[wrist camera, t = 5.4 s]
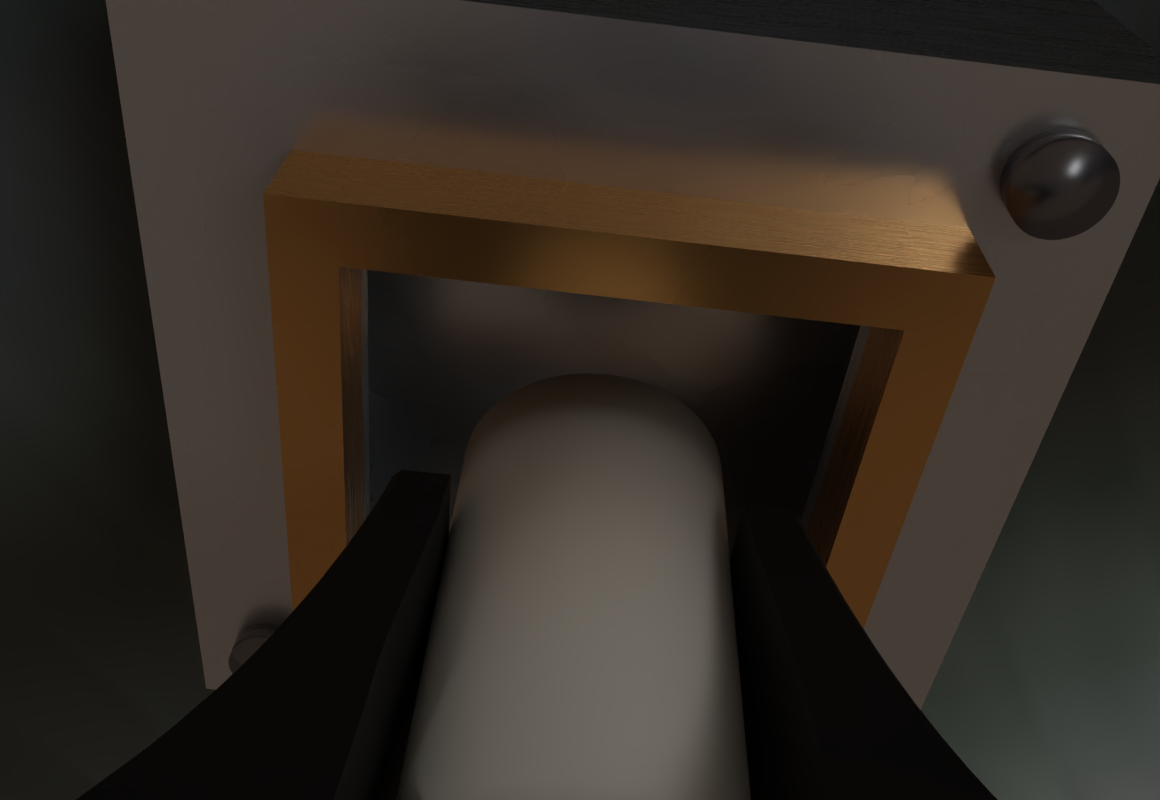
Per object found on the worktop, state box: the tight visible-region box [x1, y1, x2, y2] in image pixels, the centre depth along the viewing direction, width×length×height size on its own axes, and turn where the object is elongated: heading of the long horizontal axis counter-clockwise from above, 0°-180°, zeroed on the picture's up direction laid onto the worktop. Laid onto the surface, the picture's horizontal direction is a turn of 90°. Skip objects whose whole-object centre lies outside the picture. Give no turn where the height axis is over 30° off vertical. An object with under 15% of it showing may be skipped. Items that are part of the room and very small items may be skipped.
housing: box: [106, 0, 1160, 710], centre depth 16 cm, size 12×12×5 cm
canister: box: [396, 373, 751, 800], centre depth 13 cm, size 4×4×7 cm
